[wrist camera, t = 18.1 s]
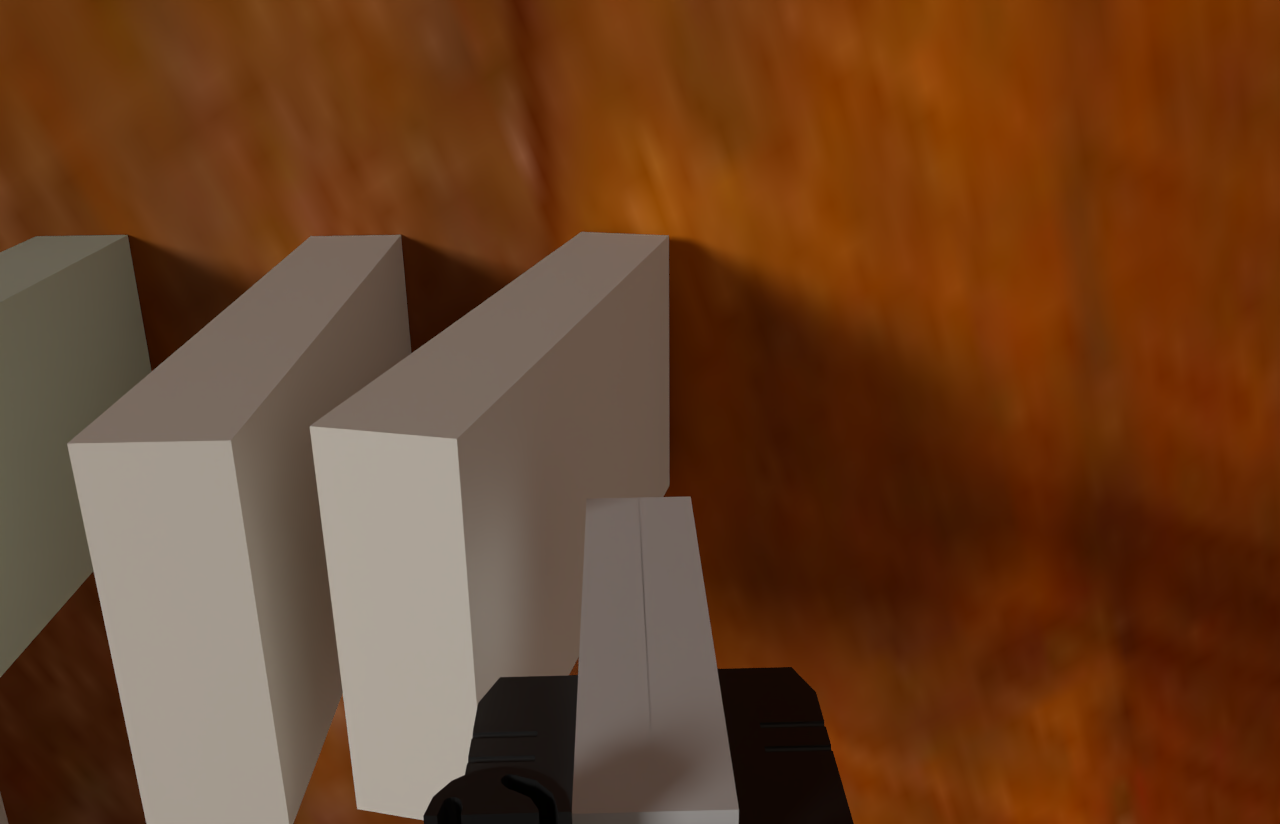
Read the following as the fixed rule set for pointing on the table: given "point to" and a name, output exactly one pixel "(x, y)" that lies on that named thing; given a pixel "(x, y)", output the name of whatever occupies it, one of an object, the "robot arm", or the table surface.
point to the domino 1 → (56, 410)
